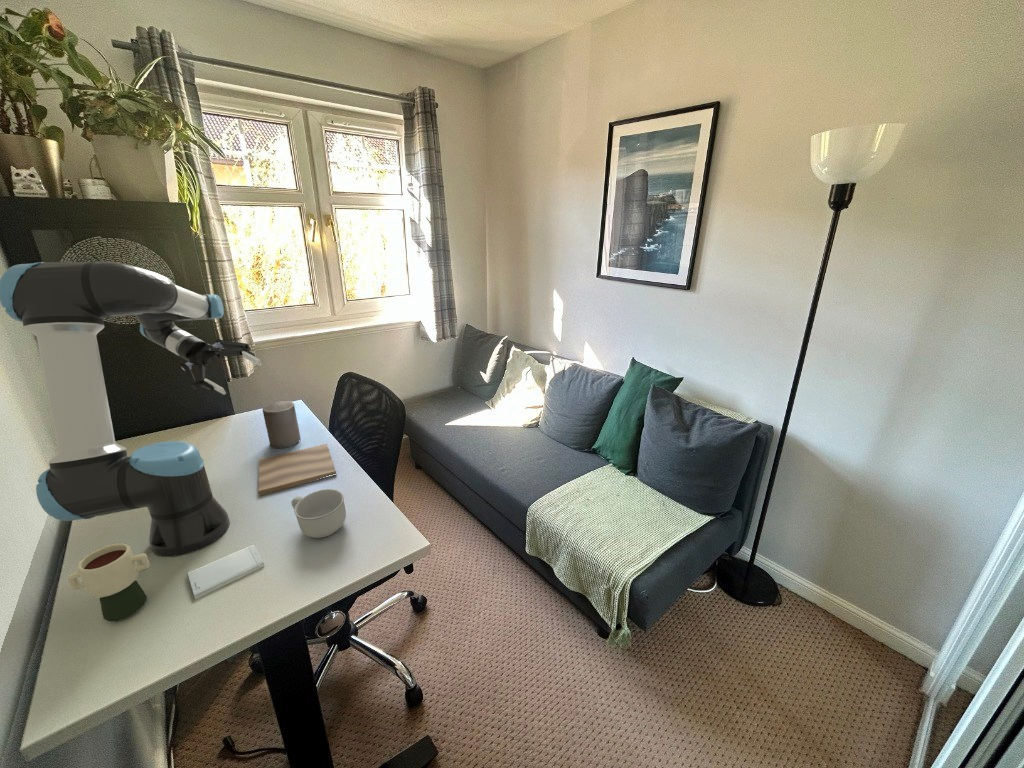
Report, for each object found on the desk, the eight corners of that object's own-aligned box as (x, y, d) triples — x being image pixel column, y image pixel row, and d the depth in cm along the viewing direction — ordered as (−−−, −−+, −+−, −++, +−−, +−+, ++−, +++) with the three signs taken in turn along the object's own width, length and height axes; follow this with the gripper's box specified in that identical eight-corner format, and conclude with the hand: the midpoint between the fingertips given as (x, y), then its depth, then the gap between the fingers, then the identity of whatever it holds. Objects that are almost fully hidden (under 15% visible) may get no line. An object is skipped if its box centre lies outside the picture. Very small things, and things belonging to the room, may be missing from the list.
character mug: (166, 585, 84) (147, 534, 80) (159, 611, 78) (138, 557, 74) (95, 608, 79) (70, 554, 74) (82, 638, 73) (54, 581, 69)
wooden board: (336, 475, 123) (335, 471, 122) (259, 495, 113) (258, 490, 113) (327, 447, 139) (326, 443, 139) (259, 463, 130) (258, 459, 129)
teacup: (357, 524, 102) (353, 496, 99) (318, 551, 93) (312, 522, 90) (321, 506, 108) (316, 480, 106) (282, 530, 100) (276, 503, 97)
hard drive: (193, 595, 80) (263, 561, 89) (186, 572, 86) (253, 542, 94) (195, 601, 81) (265, 567, 89) (189, 578, 87) (255, 548, 95)
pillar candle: (263, 446, 140) (254, 406, 135) (286, 434, 149) (278, 395, 144) (285, 450, 137) (276, 410, 132) (307, 438, 146) (300, 399, 141)
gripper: (226, 332, 140) (276, 359, 137) (155, 379, 124) (211, 411, 121) (218, 316, 134) (271, 344, 131) (143, 363, 118) (202, 396, 116)
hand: (242, 376), depth 126 cm, fingers open, 13 cm apart
